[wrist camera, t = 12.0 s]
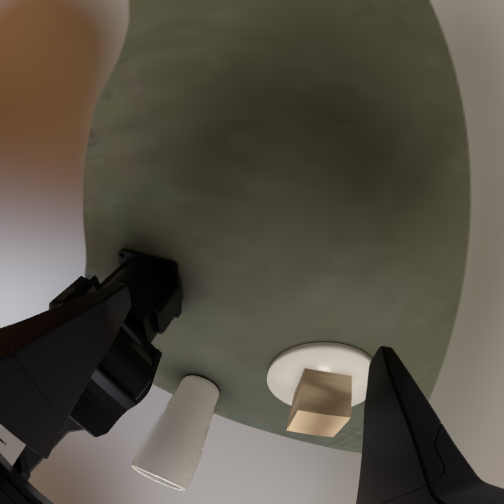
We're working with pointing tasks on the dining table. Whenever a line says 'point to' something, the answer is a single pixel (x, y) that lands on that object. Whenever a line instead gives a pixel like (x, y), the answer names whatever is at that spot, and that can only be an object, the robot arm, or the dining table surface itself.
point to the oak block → (321, 403)
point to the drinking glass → (178, 434)
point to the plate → (318, 368)
